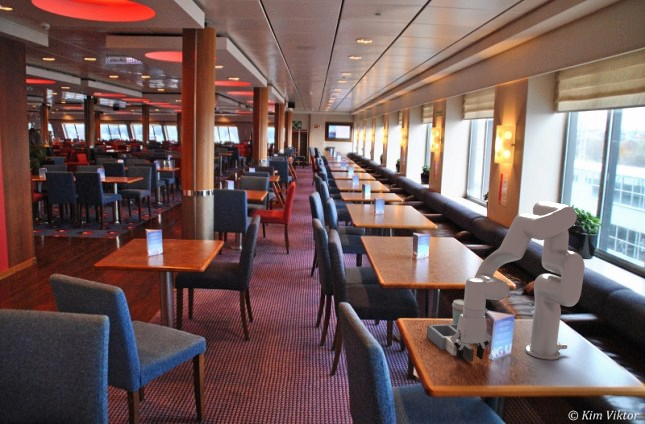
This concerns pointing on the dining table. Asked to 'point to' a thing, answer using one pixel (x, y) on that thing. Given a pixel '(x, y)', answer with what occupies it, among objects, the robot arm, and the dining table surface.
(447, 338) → the cream block
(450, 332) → the lane rack
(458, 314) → the coffee cup
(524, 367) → the dining table surface
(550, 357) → the robot arm
